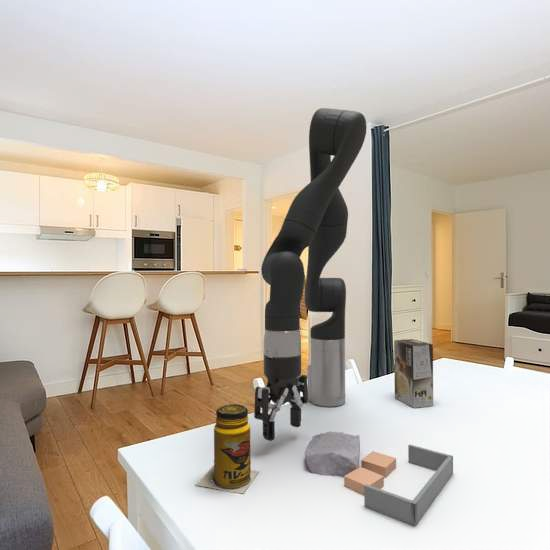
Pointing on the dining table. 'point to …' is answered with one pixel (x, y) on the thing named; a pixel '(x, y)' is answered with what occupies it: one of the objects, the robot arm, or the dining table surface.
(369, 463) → the tile
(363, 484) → the tile
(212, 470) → the condiment
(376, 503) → the frame
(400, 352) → the coffee box
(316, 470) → the stone block
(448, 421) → the dining table surface
